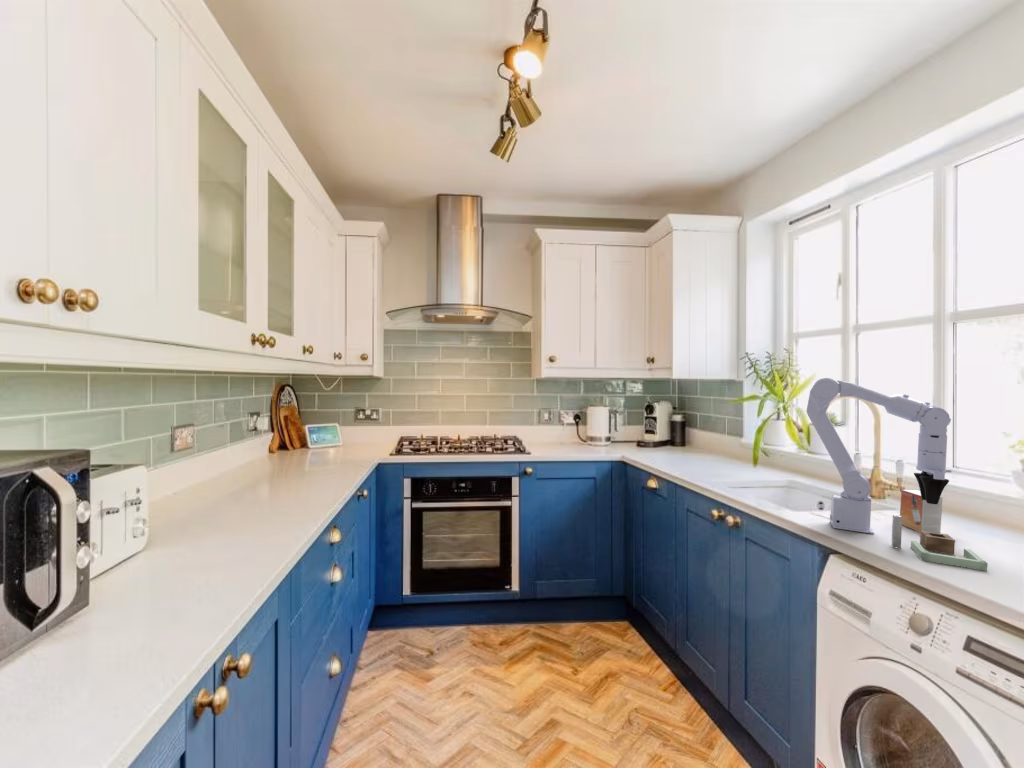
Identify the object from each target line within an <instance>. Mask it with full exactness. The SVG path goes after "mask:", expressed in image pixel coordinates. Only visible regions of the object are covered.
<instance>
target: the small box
mask: <svg viewBox="0 0 1024 768" xmlns="http://www.w3.org/2000/svg"><path fill="white" fill-rule="evenodd" d="M900 490H901V491H900V493H901V494H900V510H899V515H900V516H902V526H905V527H906V528H909V529H912V530H913V531H916V532H918V533H920V532H921V531H927V532H934V533H941V528H942V527H941V526H942V511H943V496H940V499H939V502H938V504H929V503H927V502H926V500H922V497H921V493H920V490H914V489H912V490H911V489H900Z"/></svg>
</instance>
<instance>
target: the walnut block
mask: <svg viewBox="0 0 1024 768" xmlns="http://www.w3.org/2000/svg"><path fill="white" fill-rule="evenodd" d="M919 535H920V536H919V544H920V545H921V546H922V547H923V548H924V549H925V550H926V551H930V552H935V553H943V554H950V555H955V543H956V540H955V539H954V538H953V537H952V536H951V535H949V534H947V533H941V532H940V533H934V532H927V531H921V532H919Z"/></svg>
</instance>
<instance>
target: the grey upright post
mask: <svg viewBox="0 0 1024 768" xmlns="http://www.w3.org/2000/svg"><path fill="white" fill-rule="evenodd" d="M891 524H892V526H891V528H892V529H891V547H892V546H893V547H892V548H894V547H897V548H896V549H902V534H903V533H902V532H903V531H902V529H903V525H902V516H900V514H899V515H898V514H892V523H891Z"/></svg>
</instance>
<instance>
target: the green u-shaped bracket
mask: <svg viewBox="0 0 1024 768" xmlns="http://www.w3.org/2000/svg"><path fill="white" fill-rule="evenodd" d="M910 548H911V550H912V549H913V550H914V551H913V550H912V551H913V552H914V553H915V554H916V555H917V557H919V559H920V558H921V559H922V560H921V559H920V560H921V561H923V560H924V561H925V562H929V561H930V563H935V562H936V563H937V564H941V563H944V564H943V565H947V564H950V565H949V566H953V565H956V566H955V567H959V566H961V568H966V567H967V568H966V569H972V568H973V570H978V571H985V572H988V562H987V561H986V560H984V559H983V558H982V557H980V556H979V555H978V554H976V553H977V552H975V551H973V550H972V549H970V548H963V557H960V556H955V555H947V554H941V553H936V552H935V553H934V552H928V550H925V548H924V547H923V546H922V545H921V544H920V542H919V541H917V540H910ZM924 561H923V562H924ZM936 563H935V564H936Z"/></svg>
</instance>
